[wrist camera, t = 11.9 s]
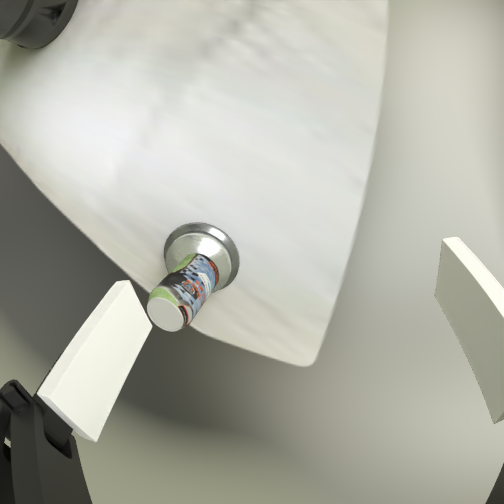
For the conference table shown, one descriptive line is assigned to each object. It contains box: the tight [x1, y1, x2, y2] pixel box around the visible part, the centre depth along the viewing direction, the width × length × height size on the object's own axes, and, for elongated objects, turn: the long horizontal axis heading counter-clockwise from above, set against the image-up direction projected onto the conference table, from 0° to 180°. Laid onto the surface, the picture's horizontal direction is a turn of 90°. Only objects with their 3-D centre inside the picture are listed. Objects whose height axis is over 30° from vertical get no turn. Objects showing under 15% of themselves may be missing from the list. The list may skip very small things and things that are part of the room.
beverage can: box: [147, 253, 219, 331], centre depth 38 cm, size 6×7×12 cm
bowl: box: [164, 223, 239, 293], centre depth 44 cm, size 12×12×2 cm
